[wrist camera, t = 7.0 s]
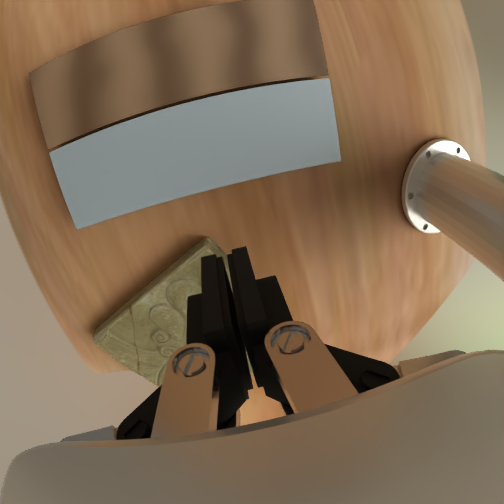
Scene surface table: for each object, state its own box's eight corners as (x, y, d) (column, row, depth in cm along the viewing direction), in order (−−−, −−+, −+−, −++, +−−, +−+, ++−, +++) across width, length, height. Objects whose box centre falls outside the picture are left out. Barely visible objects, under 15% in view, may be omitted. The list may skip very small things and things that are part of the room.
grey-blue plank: (320, 79, 25) (329, 78, 23) (332, 157, 29) (341, 160, 27) (57, 149, 24) (49, 152, 22) (83, 222, 28) (76, 229, 26)
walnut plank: (303, 2, 21) (312, -4, 19) (319, 76, 25) (328, 74, 23) (39, 73, 20) (28, 72, 18) (57, 145, 24) (48, 149, 22)
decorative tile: (93, 326, 35) (87, 345, 32) (206, 231, 32) (207, 247, 29) (191, 391, 44) (192, 409, 41) (298, 326, 41) (306, 344, 38)
